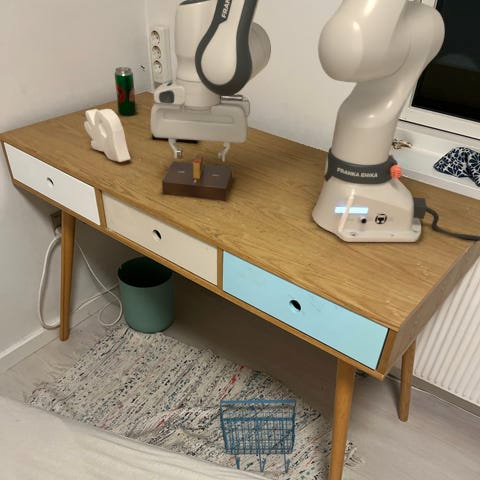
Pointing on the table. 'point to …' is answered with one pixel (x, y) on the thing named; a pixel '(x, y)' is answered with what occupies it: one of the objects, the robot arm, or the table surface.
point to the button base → (176, 140)
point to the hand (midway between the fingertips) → (200, 159)
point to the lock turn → (198, 166)
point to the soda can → (125, 91)
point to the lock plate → (197, 181)
